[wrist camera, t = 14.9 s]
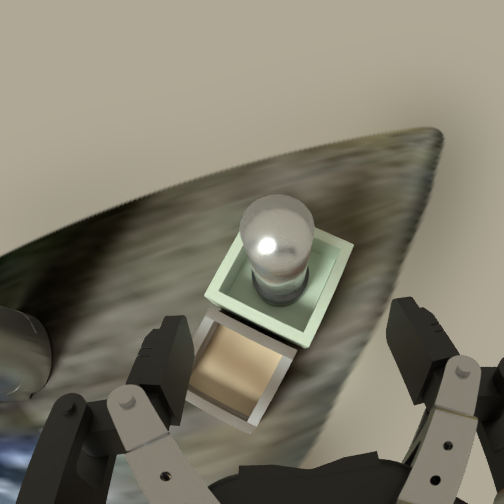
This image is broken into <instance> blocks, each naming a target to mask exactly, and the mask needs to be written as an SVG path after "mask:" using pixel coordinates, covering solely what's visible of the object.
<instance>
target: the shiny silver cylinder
mask: <svg viewBox="0 0 504 504" xmlns="http://www.w3.org/2000/svg"><path fill="white" fill-rule="evenodd" d="M314 232H315V224H314V220H313V217H312V214H311V212H310V211H309V209H308V208H307V207H306V206H305V205H304V204H303V203H302V202H301V201H299V200H297V199H295V198H293V197H291V196H287V195H281V194H274V195H268V196H264V197H262V198H260V199H258V200H256V201H255V202H253V203H252V204H251V205H250V206H249V207H248V208H247V209H246V211H245V212H244V214H243V216H242V219H241V222H240V236H241V240H242V242H243V245H244V248H245V251H246V253H247V256H248V259H249V261H250V264H251V267H252V281H253V284H254V286H255V289H256V291H257V293H258V295H259V296H260V298H261V299H262V300H263V301H264V302H266V303H267V304H269V305H272V306H275V307H286V306H290V305H292V304H294V303H296V302H297V301H298V300H299V299H300V298H301V297H302V296H303V294H304V292H305V290H306V287H307V283H308V279H309V267H308V261H309V257H310V252H311V247H312V242H313V238H314Z"/></svg>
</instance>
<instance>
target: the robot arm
mask: <svg viewBox="0 0 504 504" xmlns="http://www.w3.org/2000/svg"><path fill="white" fill-rule="evenodd" d="M386 339H387V343H388V346H389V348H390V350H391V352H392V354H393V357H394V359H395V361H396V364H397V366H398V368H399V370H400V373H401V375H402V377H403V380H404V382H405V384H406V387H407V389H408V392H409V394H410V396H411V399H412V401H413V404H414V405H417V404H421V403H425V406H426V409H425V411H424V413H423V416H422V419H421V421H420V424H419V426H418V429H417V431H416V434H415V436H414V438H413V441H412V443H411V445H410V448H409V450H408V452H407V454H406V456H405V457H404V459H403V461H402V463H399V462H396V461H392V460H385V459H379V458H378V454H377V451H375V452H370V453H365V454H360V455H354V456H349V457H344V458H341V459H339V460H336V461H334V462H331V463H328V464H325V465H322V466H320V467H317V468H314V469H300V468H292V467H285V466H278V465H252V466H239V474H235V475H231V476H228V477H225V478H223V479H220V480H218V481H216V482H215V483H213V484H211V485H210V486H208V487H207V486H206V485H205V483H204V482H203V481H202V479H201V478H200V477H199V475H198V474H197V473H196V471H195V470H194V468H193V467H192V466H191V464H190V463H189V461H188V460H187V459H186V457H185V456H184V454H183V453H182V451H181V450H180V448H179V447H178V445H177V444H176V442H175V441H174V439H173V438H172V436H171V435H170V433H169V432H168V431H169V427H170V425H175V426H180V422H181V417H182V413H183V408H184V403H185V399H186V394H187V390H188V385H189V380H190V376H191V372H192V367H193V363H194V356H195V352H194V345H193V341H192V337H191V334H190V330H189V326H188V323H187V319H186V317H185V316H184V315H181V316H165V317H164V320H163V322H162V325H161V327H160V329H153V330H152V331H151V332H150V333H149V334H148V335H147V336H146V337H145V339H144V341H143V343H142V346H141V349H140V350H139V353H138V357H137V358H136V360H135V362H134V365H133V367H132V370H131V372H130V374H129V377H128V379H127V382H126V384H125V385H123V386H120V387H118V388H116V389H115V390H114V391H113V392H112V393H111V394H110V395H109V397H108V399H106V400H101V401H94V402H86V401H85V399H84V398H83V397H82V396H81V395H79V394H76V393H69V394H66V395H63V396H62V397H60V398H59V399H58V400H57V401H56V402H55V404H54V405H53V408H52V410H51V412H50V414H49V416H48V419H47V421H46V423H45V426H44V428H43V430H42V433H41V435H40V438H39V440H38V442H37V445H36V447H35V450H34V453H33V455H32V458H31V460H30V463H29V466H28V468H27V471H26V474H25V477H24V480H23V483H22V486H21V489H20V492H19V495H18V498H17V501H16V504H106V500H107V495H108V490H109V486H110V481H111V477H112V473H113V468H114V464H115V460H116V456H117V455H118V454H125V457H126V459H127V461H128V463H129V465H130V467H131V469H132V471H133V473H134V475H135V477H136V479H137V481H138V483H139V485H140V487H141V488H142V490H143V492H144V494H145V496H146V497H147V499H148V501H149V503H150V504H468V503H466V502H464V501H462V500H461V499H459V498H457V497H456V495H457V493H458V490H459V487H460V484H461V481H462V478H463V475H464V472H465V469H466V466H467V462H468V459H469V456H470V452H471V448H472V445H473V441H474V436H475V433H476V432H477V434H478V437H479V439H480V442H481V445H482V447H483V450H484V453H485V456H486V459H487V462H488V465H489V468H490V471H491V474H492V477H493V480H494V484H495V487H496V490H497V495H496V497H495V499H494V503H493V504H504V358H502V359H501V361H500V363H499V365H498V366H497V367H480V366H479V364H478V363H477V362H476V361H475V360H474V359H472V358H470V357H468V356H464V355H460V354H459V352H458V351H457V349H456V348H455V346H454V344H453V343H452V342H451V340H450V339H449V337H448V335H447V334H446V332H445V331H444V330H443V328H442V326H441V325H440V324H439V322H438V321H437V319H436V318H435V316H434V315H433V314H432V313H431V312H429V311H428V310H427V309H425V308H423V307H422V308H419V306H418V305H417V304H416V302H415V300H414V299H413V298H412V297H404V298H397V299H393V300H392V303H391V308H390V313H389V318H388V323H387V328H386ZM51 362H52V354H51V346H50V341H49V338H48V335H47V332H46V330H45V328H44V326H43V325H42V324H41V322H40V321H39V320H38V319H36V318H35V317H34V316H31V315H28V314H25V313H23V312H20V311H15V310H12V309H9V308H6V307H2V306H0V401H3V400H29V399H30V396H31V394H32V393H35V392H37V391H39V390H40V389H41V388H43V386H44V385H45V383H46V382H47V379H48V377H49V374H50V370H51Z"/></svg>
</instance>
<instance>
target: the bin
mask: <svg viewBox="0 0 504 504" xmlns="http://www.w3.org/2000/svg"><path fill="white" fill-rule="evenodd" d="M353 246H354V244H351V243H349V242H347V241H345V240H343V239H340V238H338V237H336V236H334V235H331V234H329V233H327V232H325V231H322V230H320V229H318V228H316V227H315V232H314V238H313V242H312V247H311V252H310V257H309V261H308V267H309V279H308V283H307V287H306V290H305V292H304V294H303V296H302V297H301V298H300V299H299V300H298V301H297V302H296V303H294V304H292V305H290V306H286V307H275V306H272V305H269V304H267V303H266V302H264V301H263V300H262V299H261V298H260V296H259V295H258V293H257V291H256V289H255V286H254V284H253V281H252V267H251V264H250V261H249V259H248V256H247V253H246V251H245V248H244V245H243V242H242V240H241V236H240V231H239V233H238V235H237V237H236V239H235V240H234V242H233V244H232V246H231V248H230V249H229V251H228V253H227V255H226V257H225V258H224V260H223V262H222V264H221V266H220V267H219V269H218V271H217V273H216V275H215V276H214V278H213V280H212V282H211V284H210V286H209V287H208V289H207V291H206V293H205V295H204V296H205V297H206V298H207V299H209V300H210V301H211V302H212V303H213V304H215V305H216V306H218V307H220V308H222V309H224V310H226V311H228V312H230V313H232V314H234V315H236V316H238V317H240V318H242V319H244V320H246V321H248V322H250V323H252V324H254V325H256V326H258V327H260V328H262V329H264V330H266V331H268V332H270V333H272V334H274V335H276V336H278V337H280V338H282V339H285V340H287V341H289V342H291V343H293V344H295V345H297V346H299V347H302V348H304V349H305V348H308V347H309V346H310V344H311V341H312V339H313V337H314V335H315V333H316V331H317V329H318V327H319V325H320V323H321V320H322V318H323V316H324V314H325V312H326V309H327V307H328V305H329V303H330V301H331V298H332V296H333V294H334V292H335V289H336V287H337V285H338V282H339V280H340V278H341V275H342V273H343V270H344V268H345V266H346V263H347V261H348V258H349V256H350V253H351V251H352V248H353Z"/></svg>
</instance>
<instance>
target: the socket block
mask: <svg viewBox="0 0 504 504" xmlns="http://www.w3.org/2000/svg"><path fill="white" fill-rule="evenodd" d="M192 341H193V345H194V352H195V356H194V363H193V367H192V372H191V376H190V380H189V385H188V390H187V394H186V399H185V400H187V401H188V402H190V403H192V404H193V405H195V406H197V407H199V408H200V409H202V410H204V411H206V412H207V413H209V414H211V415H213V416H215V417H217V418H219V419H220V420H222V421H224V422H226V423H228V424H230V425H232V426H234V427H236V428H238V429H240V430H242V431H244V432H246V433H248V434H250V435H252V433H253V432H254V430H255V428H256V427H257V425H258V423H259V421H260V420H261V418H262V416H263V414H264V412H265V411H266V409H267V407H268V405H269V403H270V402H271V400H272V398H273V396H274V394H275V392H276V391H277V389H278V387H279V385H280V383H281V381H282V379H283V377H284V376H285V374H286V372H287V370H288V368H289V366H290V364H291V362H292V360H293V358H294V356H295V354H296V352H297V350H296V349H294V348H292V347H289V346H287V345H285V344H283V343H281V342H279V341H277V340H275V339H273V338H271V337H269V336H267V335H264V334H262V333H260V332H258V331H256V330H254V329H252V328H250V327H248V326H246V325H244V324H242V323H240V322H238V321H236V320H234V319H233V318H231V317H229V316H227V315H225V314H223V313H221V312H219V311H217V310H215V309H213V308H211V307H210V308H209V310H208V311H207V313H206V315H205V317H204V319H203V321H202V323H201V324H200V326H199V328H198V330H197V332H196V334H195V336H194V337H193V339H192Z"/></svg>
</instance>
